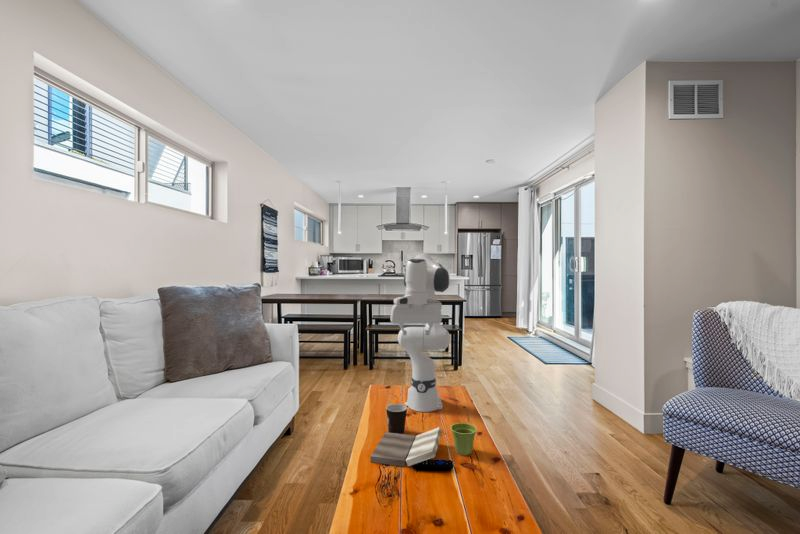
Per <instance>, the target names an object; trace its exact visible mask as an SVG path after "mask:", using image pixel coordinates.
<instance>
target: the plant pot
mask: <svg viewBox="0 0 800 534" xmlns="http://www.w3.org/2000/svg"><path fill="white" fill-rule="evenodd" d="M450 430H451V432H452V436H453V445H454V451H455V453H457V454H458V455H460V456H468V455H471V454H472V453H473V448H474V441H475V435H476V433H477V430H478V428H477V427H476V426H475V425H473V424H471V423H466V422H457V423H454V424H451V425H450Z"/></svg>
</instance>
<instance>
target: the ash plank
mask: <svg viewBox="0 0 800 534" xmlns="http://www.w3.org/2000/svg"><path fill="white" fill-rule="evenodd" d="M442 432H443V431H442V429H441V427H440V426H438V427H436V428H433V429H431V430H428V431H425V432H423V433H420V434H417V435H415V440H414V442H413V445H412V447H411V449H410V452H409V454H408V456H407V459H406V465H407V467H410V466H414V465H416V464H419V463H422V462H424V461H427V460H430V459H434V458H435V457H436V456H437V451H438V447H439V444H440V441H441V435H442Z"/></svg>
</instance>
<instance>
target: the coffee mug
mask: <svg viewBox="0 0 800 534" xmlns="http://www.w3.org/2000/svg"><path fill="white" fill-rule="evenodd" d="M385 410H386V419H387V420H386V421H387V431H388V432H389V433H398V434H405V429H406V422H407V412H408V407H407V406H405V405H404V404H401V403H400V404H399V403H398V404H397V403H394V404H389V405H387V406H386V407H385Z"/></svg>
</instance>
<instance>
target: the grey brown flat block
mask: <svg viewBox="0 0 800 534" xmlns="http://www.w3.org/2000/svg"><path fill="white" fill-rule="evenodd" d="M415 438H416V435H414V434H406V433H404V434H398V433H389V431H388V432H387V431H386V432H385V433H384V434H383V436H382V437H381V438H380V440H379V442H378V444H377V445H376V447H375V449H374V450H373V451H372V453H371V455H370V458H369V459H370V461H369V462H370V463H375V464H381V465H391V466H397V467H406V465H407V463H406V459H407V456H408V454H409V452H410V449H411V447H412V445H413V442H414V440H415Z"/></svg>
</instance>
